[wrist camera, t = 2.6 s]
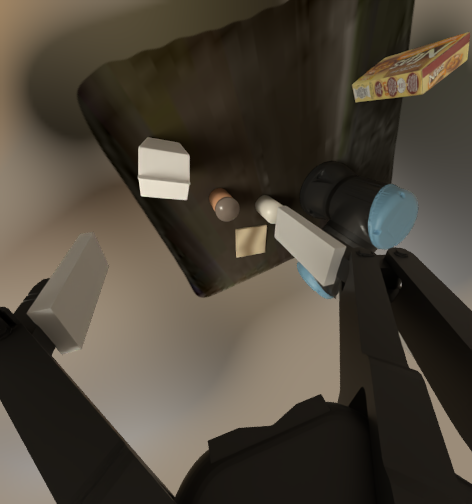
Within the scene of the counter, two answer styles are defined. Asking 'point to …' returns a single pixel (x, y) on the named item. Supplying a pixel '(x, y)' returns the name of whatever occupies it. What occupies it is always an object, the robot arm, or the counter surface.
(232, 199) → the jar
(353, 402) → the robot arm
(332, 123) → the counter surface
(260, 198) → the white rounded cylinder
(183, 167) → the milk
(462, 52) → the candy box
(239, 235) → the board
